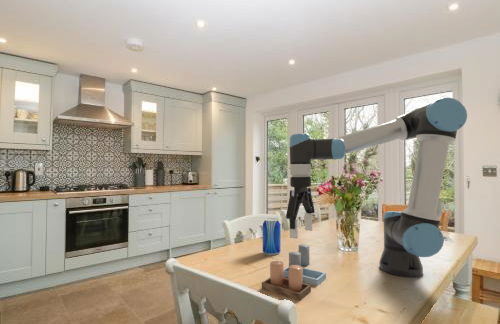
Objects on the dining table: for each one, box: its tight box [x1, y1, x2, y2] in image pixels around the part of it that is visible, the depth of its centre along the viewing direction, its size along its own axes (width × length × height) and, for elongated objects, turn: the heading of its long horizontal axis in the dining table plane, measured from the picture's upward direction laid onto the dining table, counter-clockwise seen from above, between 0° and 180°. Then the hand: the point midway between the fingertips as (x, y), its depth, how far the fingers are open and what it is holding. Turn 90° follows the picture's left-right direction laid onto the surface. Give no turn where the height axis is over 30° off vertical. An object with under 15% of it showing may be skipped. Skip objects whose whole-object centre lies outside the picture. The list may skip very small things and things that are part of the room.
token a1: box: [269, 260, 284, 288], centre depth 93 cm, size 4×4×8 cm
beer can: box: [262, 217, 282, 257], centre depth 131 cm, size 8×8×16 cm
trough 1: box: [261, 277, 312, 302], centre depth 91 cm, size 14×8×2 cm, turn 53°
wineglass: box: [436, 199, 444, 235], centre depth 169 cm, size 9×9×21 cm
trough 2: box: [283, 266, 327, 287], centre depth 101 cm, size 14×8×2 cm, turn 53°
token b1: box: [288, 251, 302, 267], centre depth 103 cm, size 4×4×8 cm
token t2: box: [288, 265, 304, 293], centre depth 89 cm, size 4×4×8 cm
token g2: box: [298, 243, 310, 267], centre depth 115 cm, size 4×4×8 cm
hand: (301, 234), depth 102 cm, fingers open, 13 cm apart
